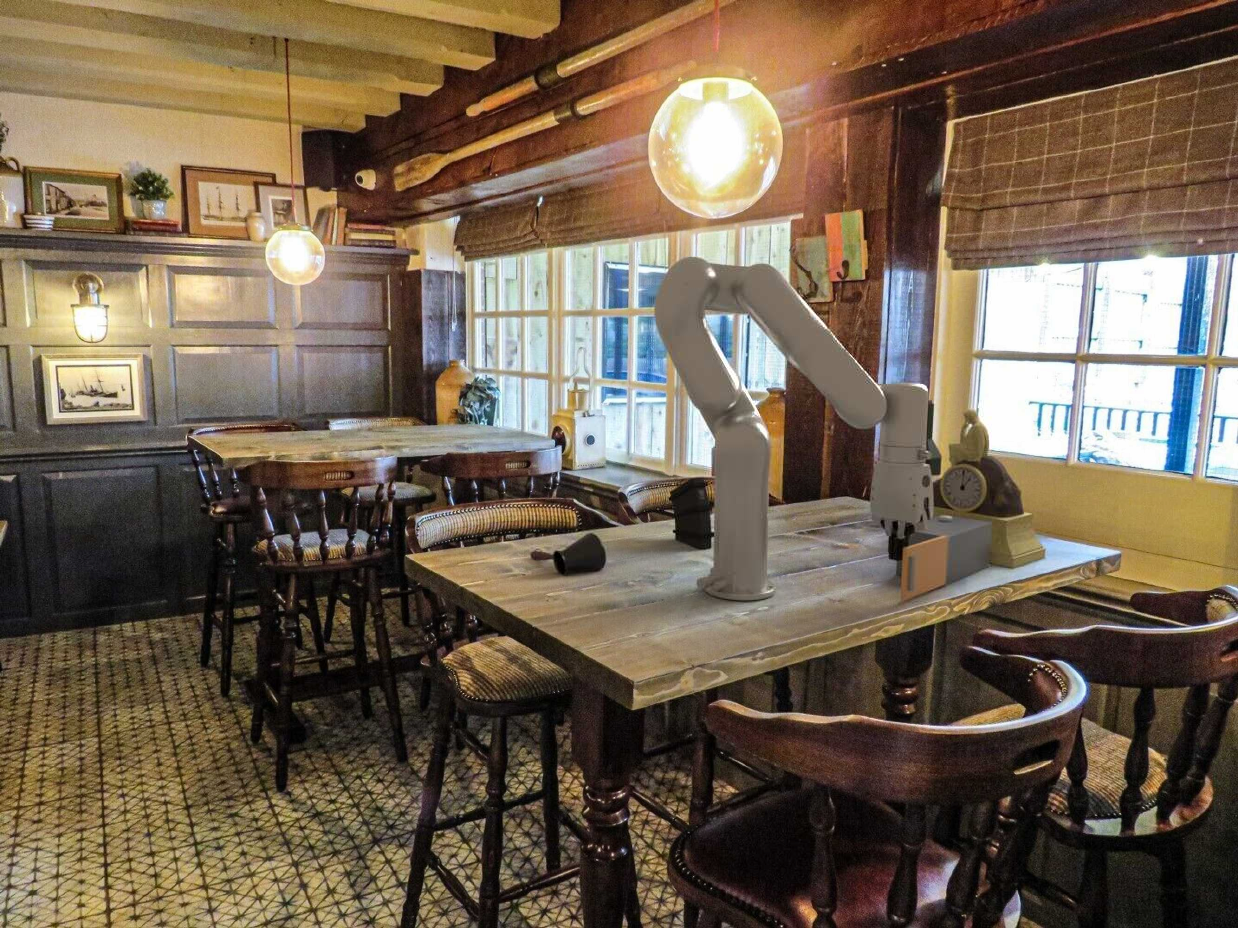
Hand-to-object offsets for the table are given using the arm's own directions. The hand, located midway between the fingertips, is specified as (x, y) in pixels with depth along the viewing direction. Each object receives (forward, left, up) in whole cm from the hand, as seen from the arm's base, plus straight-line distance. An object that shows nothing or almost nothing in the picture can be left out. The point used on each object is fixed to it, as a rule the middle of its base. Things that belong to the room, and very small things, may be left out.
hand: (897, 558), depth 150 cm
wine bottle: (+57, +25, -7) cm, 62 cm away
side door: (+5, -3, -6) cm, 9 cm away
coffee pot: (-29, +56, -7) cm, 63 cm away
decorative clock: (+41, +7, -7) cm, 42 cm away
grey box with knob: (+23, +2, -7) cm, 24 cm away
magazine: (+3, +51, -7) cm, 52 cm away
